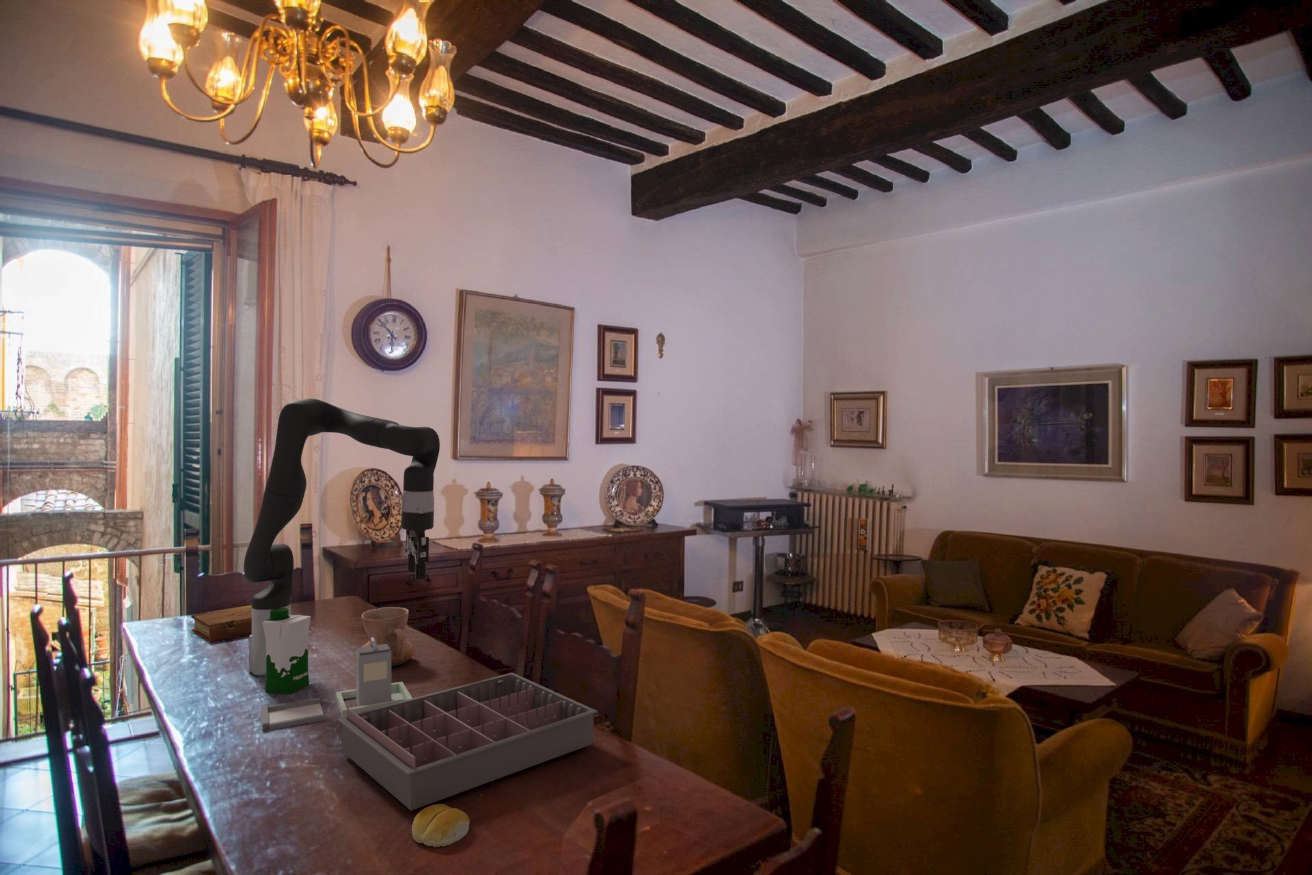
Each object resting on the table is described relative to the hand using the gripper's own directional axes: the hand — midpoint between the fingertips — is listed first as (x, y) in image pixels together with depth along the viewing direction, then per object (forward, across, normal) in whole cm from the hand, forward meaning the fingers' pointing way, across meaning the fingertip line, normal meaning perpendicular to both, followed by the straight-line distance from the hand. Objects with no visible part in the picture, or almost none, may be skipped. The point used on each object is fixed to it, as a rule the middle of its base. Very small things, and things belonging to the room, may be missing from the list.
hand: (416, 575), depth 181 cm
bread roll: (+27, +67, -10) cm, 73 cm away
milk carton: (+30, -15, -27) cm, 43 cm away
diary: (+32, -84, -35) cm, 97 cm away
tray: (+29, +5, -10) cm, 31 cm away
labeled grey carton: (+28, +5, -10) cm, 30 cm away
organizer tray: (+28, +41, +2) cm, 49 cm away
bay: (+29, +5, -27) cm, 40 cm away
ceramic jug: (+30, -25, -2) cm, 39 cm away
